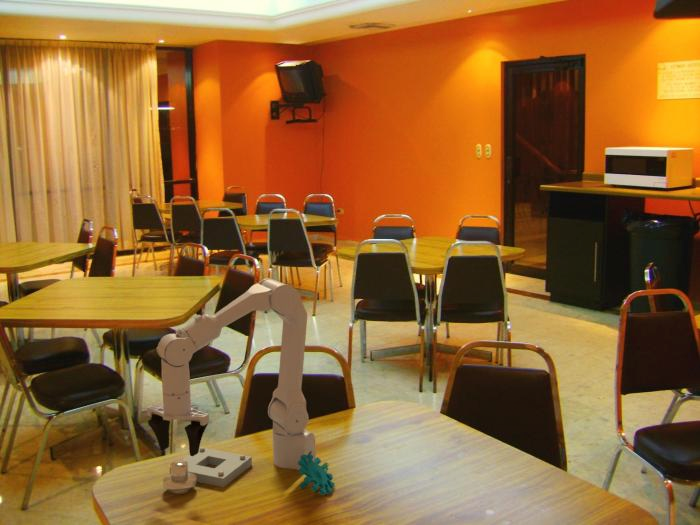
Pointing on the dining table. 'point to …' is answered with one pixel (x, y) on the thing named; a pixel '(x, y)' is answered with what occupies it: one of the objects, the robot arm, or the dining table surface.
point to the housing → (225, 462)
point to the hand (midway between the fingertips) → (179, 451)
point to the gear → (315, 474)
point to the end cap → (179, 478)
